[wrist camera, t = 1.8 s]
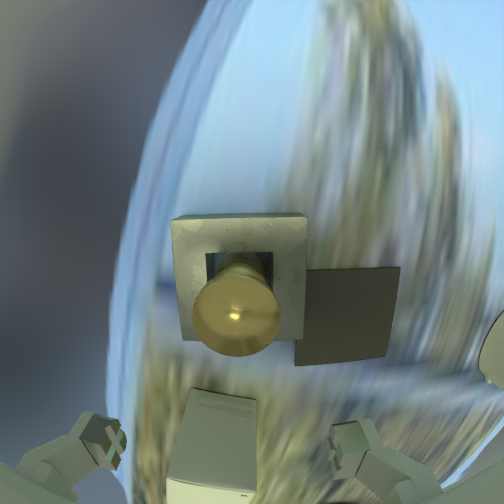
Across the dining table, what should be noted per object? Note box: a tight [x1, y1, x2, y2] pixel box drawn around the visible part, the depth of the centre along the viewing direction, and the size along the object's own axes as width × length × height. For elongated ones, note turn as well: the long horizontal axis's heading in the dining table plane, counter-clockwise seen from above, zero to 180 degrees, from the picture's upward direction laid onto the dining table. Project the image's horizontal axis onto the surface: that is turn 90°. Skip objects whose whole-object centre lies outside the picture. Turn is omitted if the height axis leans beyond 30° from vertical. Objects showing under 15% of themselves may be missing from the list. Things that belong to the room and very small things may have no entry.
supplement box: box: [166, 388, 257, 504], centre depth 27 cm, size 9×9×15 cm
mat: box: [295, 267, 400, 366], centre depth 31 cm, size 12×12×1 cm
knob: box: [192, 252, 280, 357], centre depth 24 cm, size 6×6×11 cm
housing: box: [171, 213, 307, 341], centre depth 28 cm, size 12×12×4 cm
